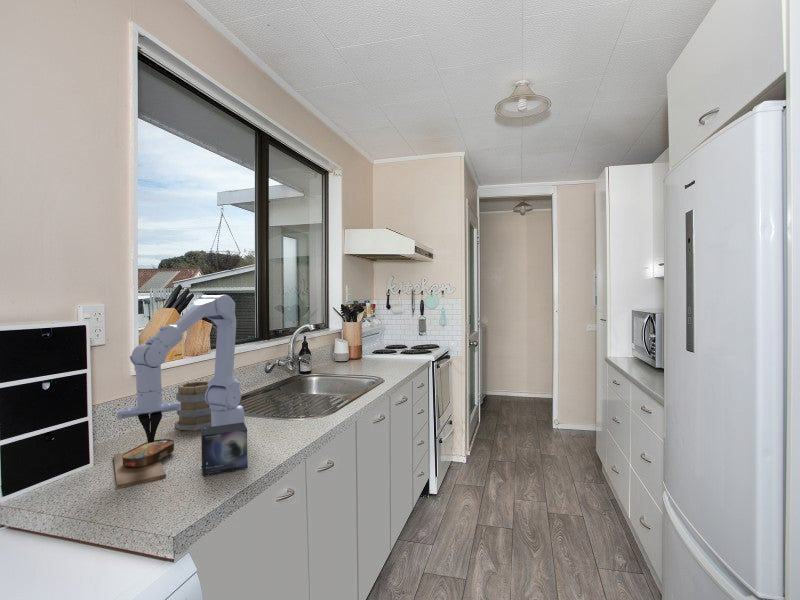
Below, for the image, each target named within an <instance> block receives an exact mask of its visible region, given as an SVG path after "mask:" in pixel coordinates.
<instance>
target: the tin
mask: <svg viewBox="0 0 800 600" xmlns="http://www.w3.org/2000/svg"><path fill="white" fill-rule="evenodd" d="M174 450H175V440H173V439H167V438H165V439H164V438H162V439H161V438H160V439H154V442H152V443H148V442H147V441H146V442H145V443H142V444H140V445H138V446H136V447H134V448H133V449H130V450H128V451H125V452H126V453H124V452H123V453H124V454H123V455H122V458H123V466H124V467H144V466H148V465H151V464H153V463H155V462H157V461H159V460H160V461H161V460H162V459H163V458H165V457H168V456H169V455H171V454H172V453H174Z"/></svg>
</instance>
